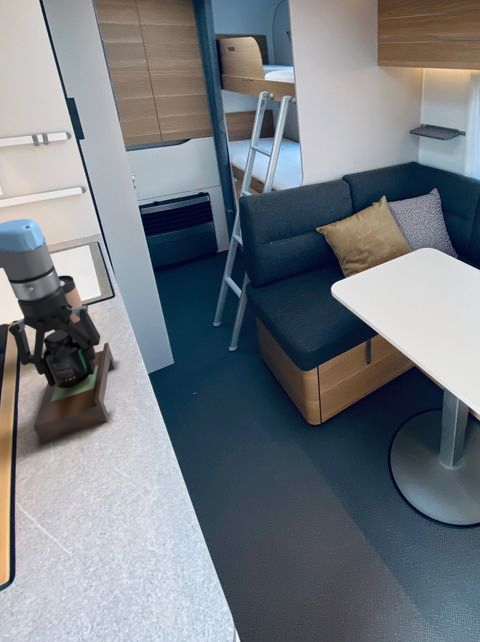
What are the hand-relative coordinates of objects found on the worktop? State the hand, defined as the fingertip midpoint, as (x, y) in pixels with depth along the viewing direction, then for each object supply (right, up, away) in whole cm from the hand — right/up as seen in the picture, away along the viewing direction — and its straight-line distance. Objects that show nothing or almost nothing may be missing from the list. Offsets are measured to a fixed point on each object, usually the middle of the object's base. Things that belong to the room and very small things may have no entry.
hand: (73, 376), depth 94 cm
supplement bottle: (0, -1, 0) cm, 1 cm away
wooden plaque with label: (0, -7, +3) cm, 7 cm away
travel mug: (-14, +1, +21) cm, 25 cm away
